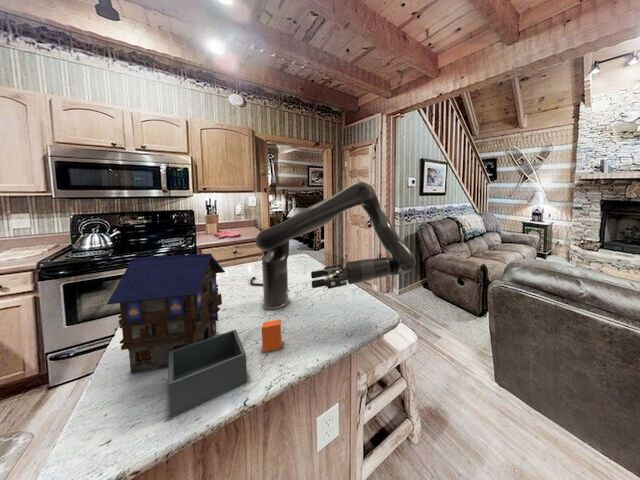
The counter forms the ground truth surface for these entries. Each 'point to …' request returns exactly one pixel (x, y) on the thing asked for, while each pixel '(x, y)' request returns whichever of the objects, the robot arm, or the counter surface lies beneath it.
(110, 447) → the counter surface
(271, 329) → the block
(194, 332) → the miniature building
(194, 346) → the bin
